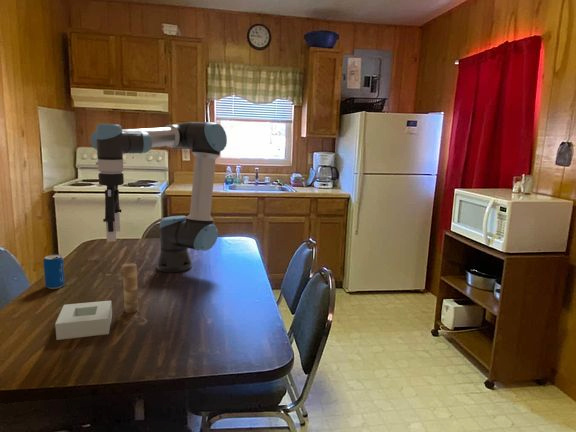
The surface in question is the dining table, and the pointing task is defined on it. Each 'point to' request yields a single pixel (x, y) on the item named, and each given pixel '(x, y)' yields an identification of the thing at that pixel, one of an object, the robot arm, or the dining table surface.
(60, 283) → the beverage can
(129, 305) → the oak peg
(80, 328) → the socket block
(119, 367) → the dining table surface
